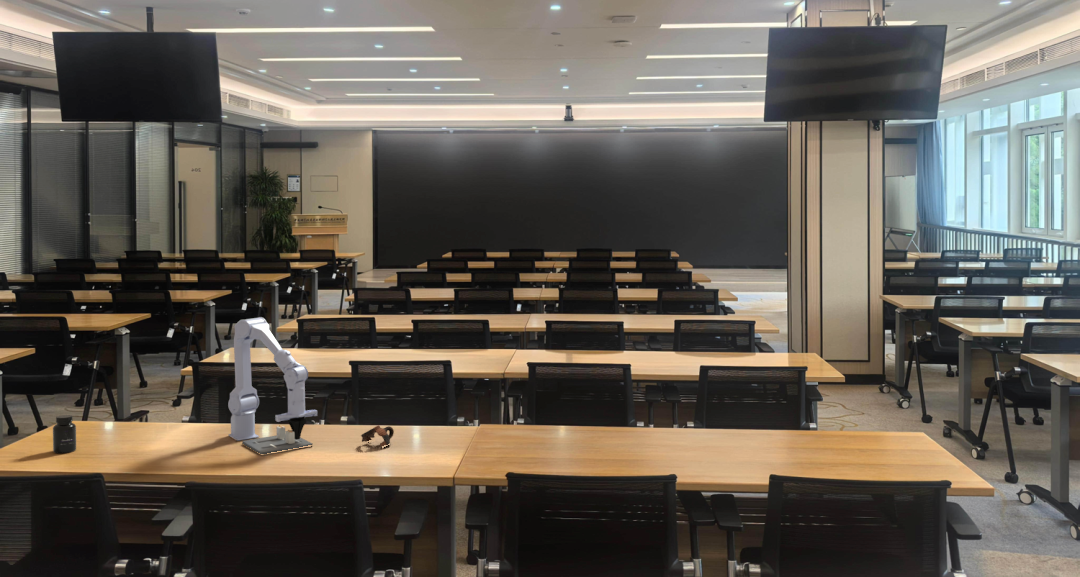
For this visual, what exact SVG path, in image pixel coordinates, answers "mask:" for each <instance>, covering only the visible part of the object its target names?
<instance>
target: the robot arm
mask: <svg viewBox="0 0 1080 577" xmlns="http://www.w3.org/2000/svg"><path fill="white" fill-rule="evenodd" d="M254 340H256V341H257V340H258V341H260V342H262V343H263V345H264V346H265V347H266V348H267V349H268V350H269V352H270V353H271V354H272V355H273V361H274V363H275V364H276V365H277V367H278V368H279V369H280V370H281V371H282V373H283V374H284V375H283V380H284V381H285V384H286V388H287V412H285V413H281V414H275V417H274V418H275V419H274V420H275V421H276V422H278V423H279V422H281V421H283V422H285V421H287V423H288V424H289V426H290V428H291V429H290V430H292V431H294V432H295V439H296V440H297V439H300V437H301V435H302V431H303V428H304V426H305V424H306V422H307V418H308V417H318V410H317V409H309V410H308V409H307V410H306V391H305V390H306V388H305V386H306V385H305V384H306V380H308V378H309V372H308V371H309V370H308V369H307V367H306V366H305V365H303V364H300V363H298V362H297V361H296V359H295V358H294V357H293V355H292V352H291V351H290V350H288V349H283V348H282V346H281V345H280V343H279V341H277V339H276V338H275V336H274V335H273V333H272V332H271V330H270V324H269V323H268V322H267V320H266V319H265V318H264V317H262V316H259V317H254V318H246V319H240V320H239V321H237V323H235V324H234V336H233V353H234V354H233V356H234V378H235V387H234V388H233V389H232V391H231V392H229V400H228V405H227V406H228V409H229V412H230V413H231V416H230V433H228V437H231V438H232V439H234V441H246V440H252V439H258V438H260V436H259V435H258V434H256V429H255V428H256V424H255V422H256V421H255V420H256V419H255V417H256V416H255V413H256V412H257V409H258V407H259V405H260V398H259V396H258V390H257V389H256V388H255V387H253V386H252V385H253V384H252V362H251V356H252V355H251V343H253V341H254Z"/></svg>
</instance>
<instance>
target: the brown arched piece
mask: <svg viewBox="0 0 1080 577" xmlns="http://www.w3.org/2000/svg"><path fill="white" fill-rule="evenodd" d="M388 432H389V433H388ZM394 432H395V430H394V429H393V427H392V426H385V427H384V428H383V427H381V426H380V425H376V426H374V427H373V428H371V429H368V430H367V431H365V432H364V433H362V434H361V435H360V437H361V442H362V443H363V442H366V443H367V441H369V440H372V439H374V438H376V437H375V434H377V435H378V436H379V437H381V438H382V439H383V441H381V442H380V443H379V445H380V447H381V446H384V445H388V444H389V443H390V444H391V439H392V438H393V436H394V434H395V433H394ZM372 441H373V440H372Z"/></svg>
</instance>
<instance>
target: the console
mask: <svg viewBox="0 0 1080 577" xmlns="http://www.w3.org/2000/svg"><path fill="white" fill-rule="evenodd" d="M241 441H242V445H243V444H244V445H245V446H244V445H243V446H244V447H246V446H247V447H246V448H248V447H249V448H251V449H252V450H251V449H250V450H251V451H253V450H254V451H256V452H258V453H260V454H267V453H271V452H277V451H282V450H288V449H293V448H299V447H303V446H308V445H313V443H312V442H311V441H308V440H306V439H304V438H302V437H301V436H300V439H297V440H296V439H295V443H293V444H288V443H286V433H285V439H279V438H277V434H276V435H271V436H265V437H257V438H251V439H245V440H241ZM249 448H248V449H249ZM254 451H253V452H254ZM256 452H255V453H256ZM258 453H257V454H258Z"/></svg>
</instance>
